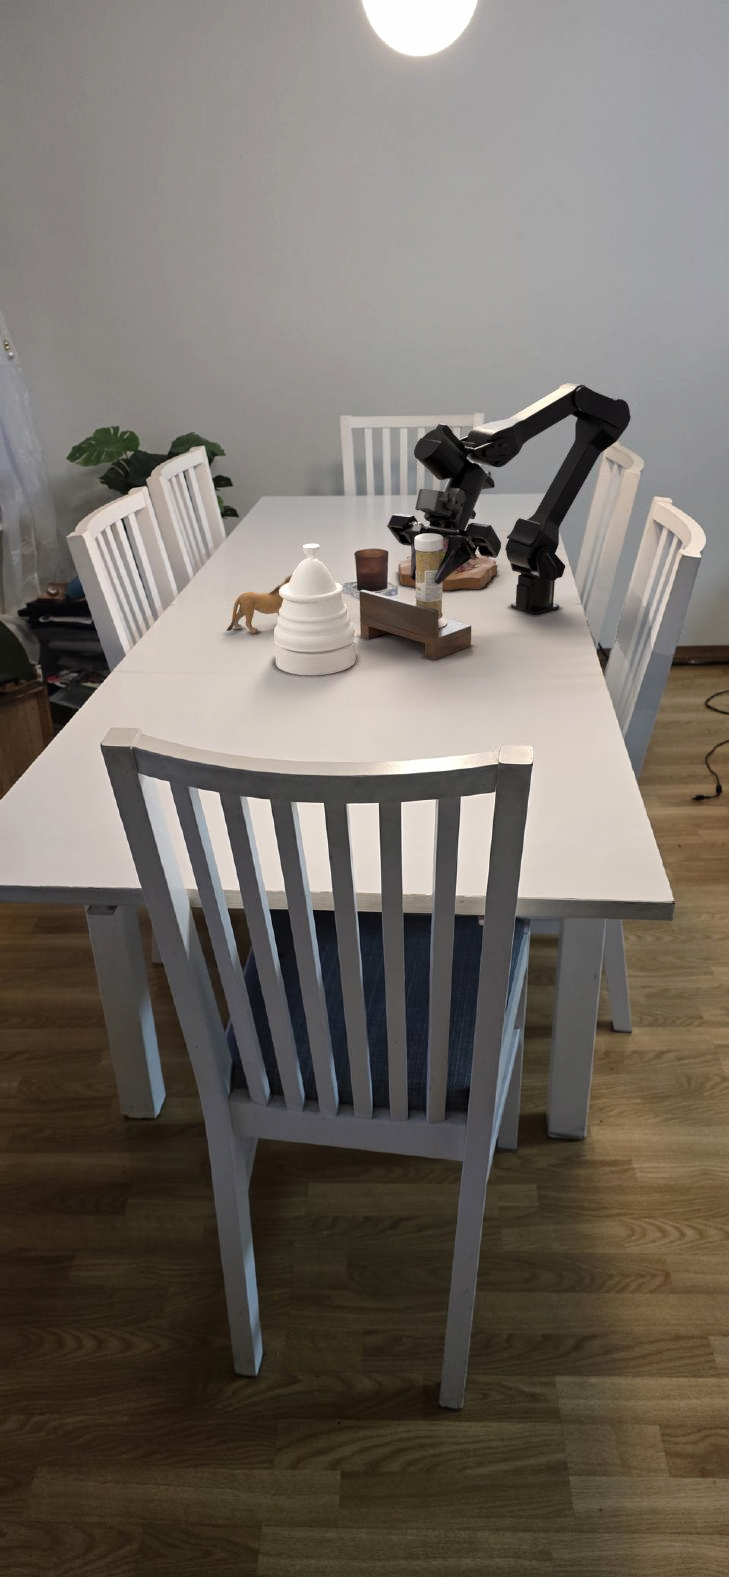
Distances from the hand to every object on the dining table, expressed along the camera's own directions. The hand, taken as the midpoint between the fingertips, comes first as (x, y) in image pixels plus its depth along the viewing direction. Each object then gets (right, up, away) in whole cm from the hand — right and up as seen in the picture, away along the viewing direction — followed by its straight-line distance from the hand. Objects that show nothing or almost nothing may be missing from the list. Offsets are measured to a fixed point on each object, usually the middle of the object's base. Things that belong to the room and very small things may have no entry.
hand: (424, 580), depth 159 cm
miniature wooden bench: (-1, -9, +7) cm, 11 cm away
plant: (+7, +9, +41) cm, 43 cm away
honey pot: (-17, -13, 0) cm, 22 cm away
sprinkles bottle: (+1, -5, +4) cm, 7 cm away
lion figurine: (-26, -5, +16) cm, 31 cm away
